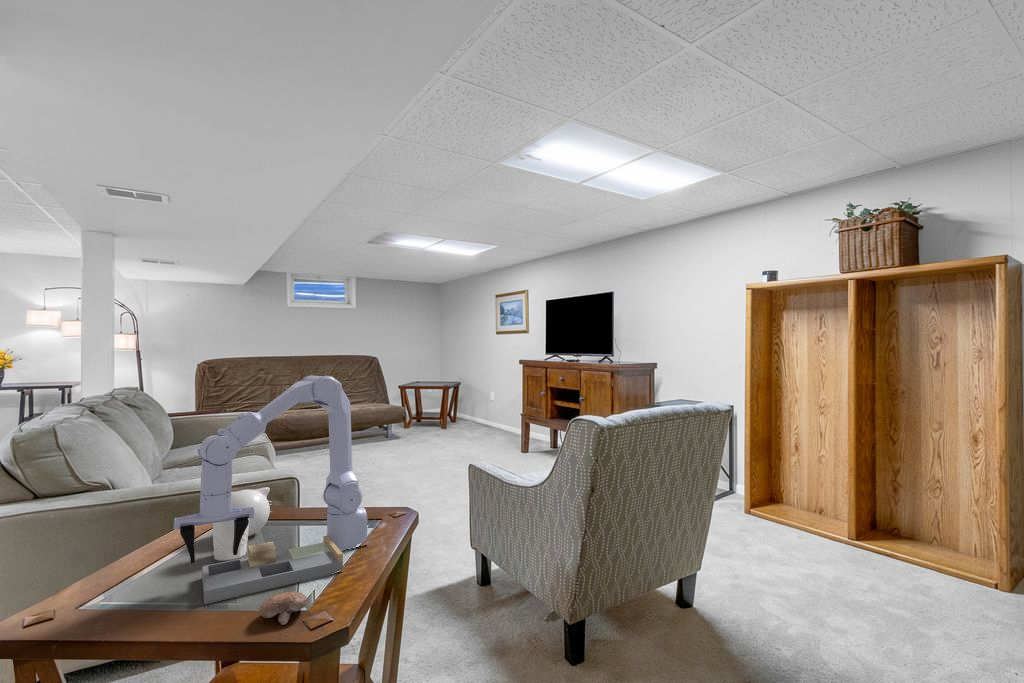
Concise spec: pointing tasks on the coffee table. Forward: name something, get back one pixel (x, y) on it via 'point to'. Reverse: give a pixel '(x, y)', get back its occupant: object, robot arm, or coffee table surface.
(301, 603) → the mushroom
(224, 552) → the white cup
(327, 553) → the board
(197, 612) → the coffee table surface
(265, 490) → the cat head
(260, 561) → the maple block
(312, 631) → the coffee table surface
